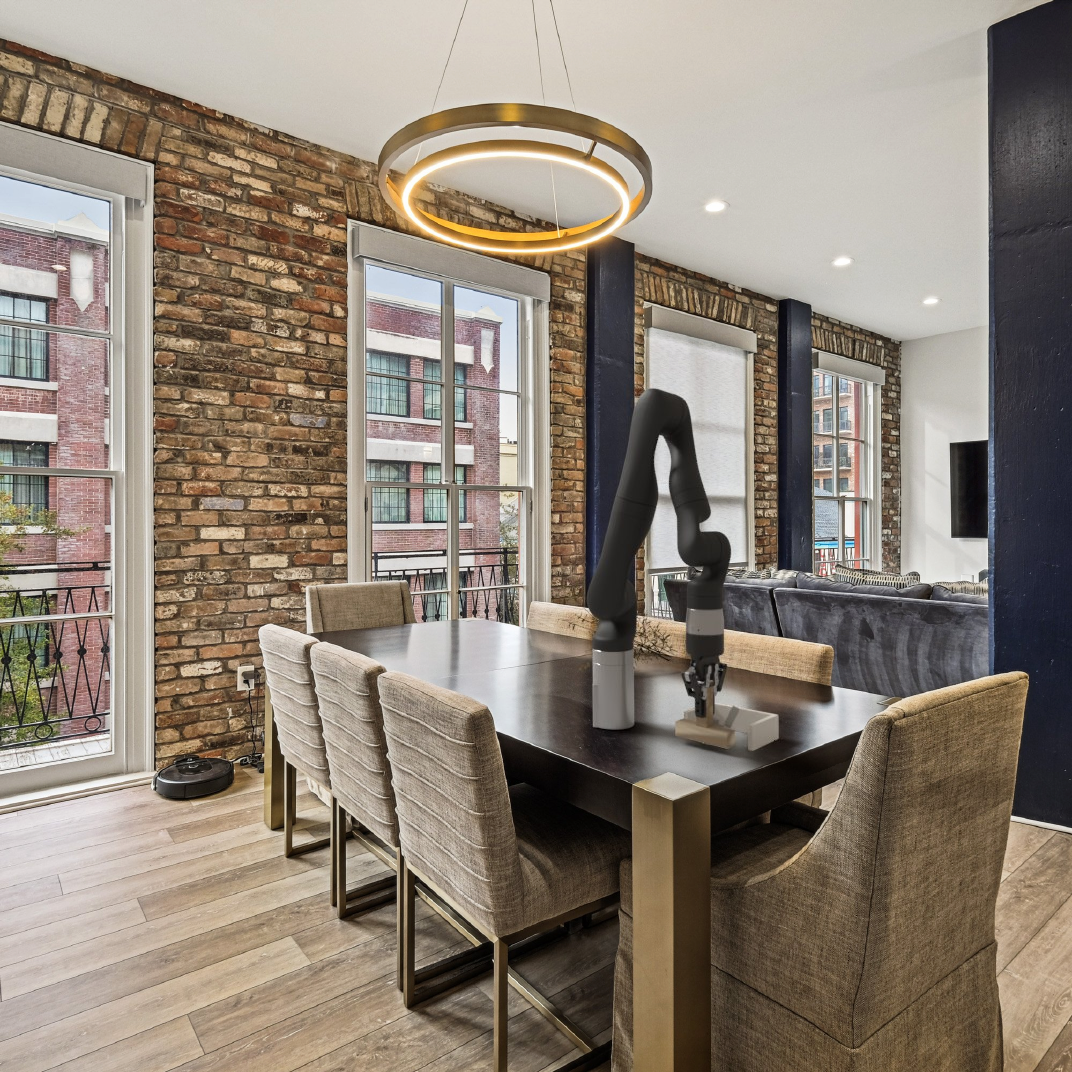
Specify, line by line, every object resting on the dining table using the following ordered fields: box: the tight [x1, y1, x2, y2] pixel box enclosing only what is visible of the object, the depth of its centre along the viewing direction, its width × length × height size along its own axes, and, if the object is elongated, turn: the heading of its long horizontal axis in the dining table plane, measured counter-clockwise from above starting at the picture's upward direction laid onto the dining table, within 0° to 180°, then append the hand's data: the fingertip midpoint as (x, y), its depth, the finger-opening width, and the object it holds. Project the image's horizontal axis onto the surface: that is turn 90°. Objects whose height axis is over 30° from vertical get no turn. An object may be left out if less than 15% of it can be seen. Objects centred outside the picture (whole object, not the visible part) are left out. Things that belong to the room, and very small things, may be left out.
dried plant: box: [557, 582, 678, 671], centre depth 213 cm, size 30×31×45 cm
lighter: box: [703, 705, 739, 746], centre depth 149 cm, size 7×2×8 cm, turn 74°
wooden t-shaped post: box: [674, 686, 736, 750], centre depth 148 cm, size 3×12×11 cm, turn 44°
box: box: [683, 702, 780, 752], centre depth 155 cm, size 11×16×5 cm
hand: (705, 715), depth 148 cm, fingers closed on wooden t-shaped post, 2 cm apart
